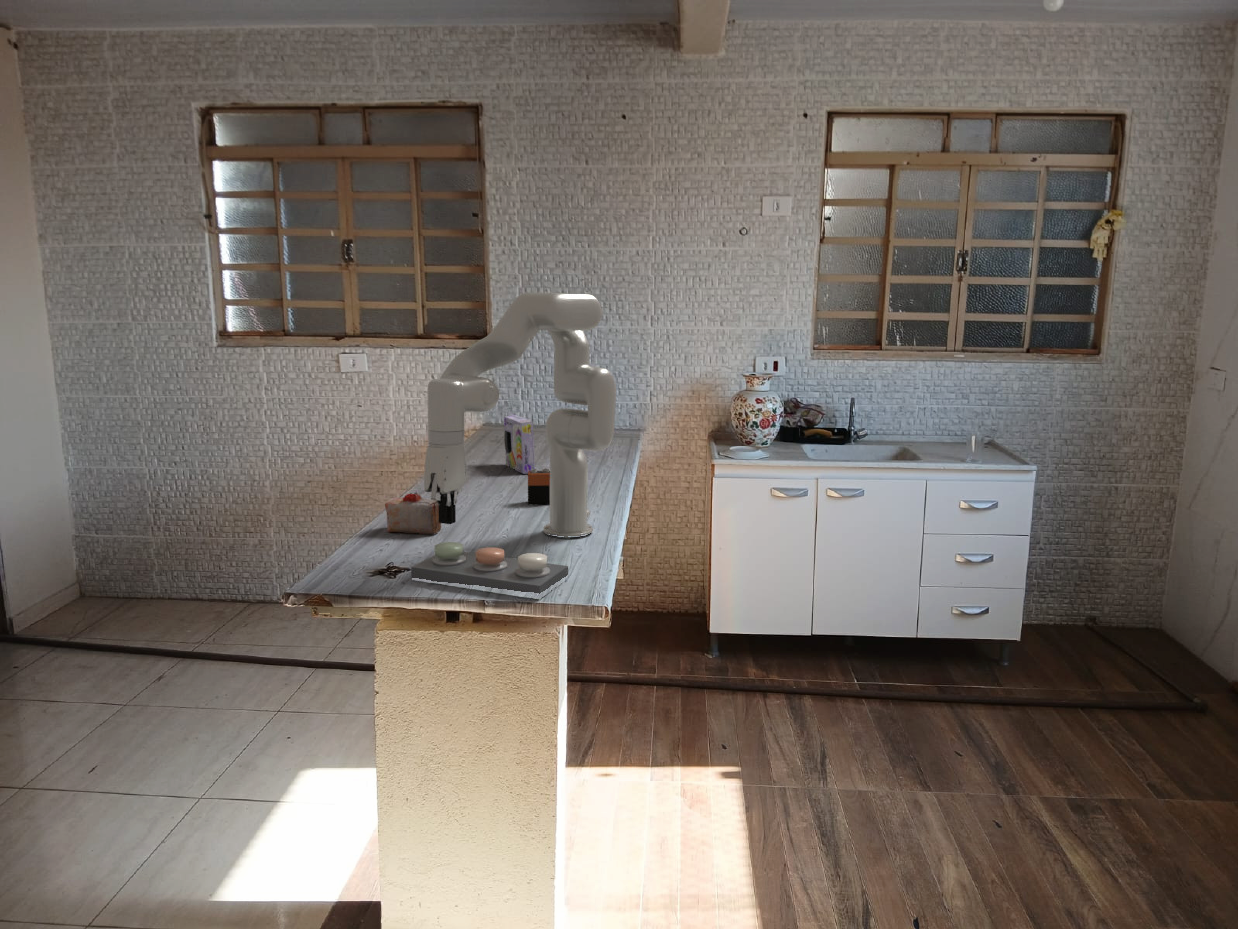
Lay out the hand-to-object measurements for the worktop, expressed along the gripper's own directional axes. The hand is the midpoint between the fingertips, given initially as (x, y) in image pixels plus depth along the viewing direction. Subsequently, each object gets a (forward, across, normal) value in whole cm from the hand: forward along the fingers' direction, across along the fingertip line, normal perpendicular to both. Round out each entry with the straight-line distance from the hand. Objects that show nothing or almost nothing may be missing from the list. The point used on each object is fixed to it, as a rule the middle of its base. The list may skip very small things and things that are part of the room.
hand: (447, 522), depth 192 cm
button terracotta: (+8, 0, +10) cm, 13 cm away
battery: (+11, -66, -10) cm, 68 cm away
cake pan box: (+10, -106, -37) cm, 113 cm away
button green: (+8, 0, 0) cm, 8 cm away
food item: (+12, -27, -26) cm, 39 cm away
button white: (+8, 0, +20) cm, 22 cm away
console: (+12, 0, +10) cm, 15 cm away
